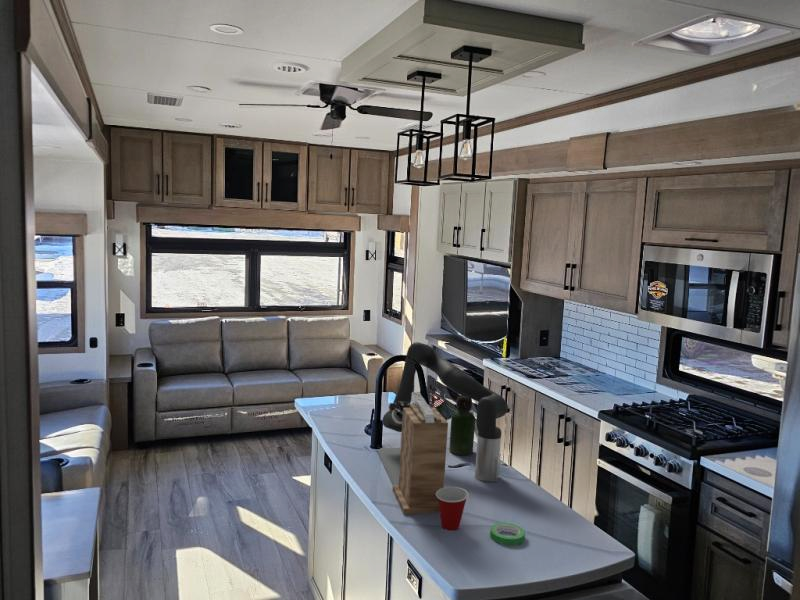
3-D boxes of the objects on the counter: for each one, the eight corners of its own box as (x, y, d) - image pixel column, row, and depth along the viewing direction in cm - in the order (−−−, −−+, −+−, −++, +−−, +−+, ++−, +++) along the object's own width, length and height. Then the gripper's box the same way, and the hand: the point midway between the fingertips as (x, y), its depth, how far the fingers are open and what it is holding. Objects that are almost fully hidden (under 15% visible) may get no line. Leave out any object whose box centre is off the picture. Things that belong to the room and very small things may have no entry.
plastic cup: (427, 521, 223) (430, 487, 221) (456, 517, 227) (458, 484, 226) (442, 536, 213) (444, 501, 211) (471, 532, 217) (474, 497, 216)
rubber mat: (375, 449, 289) (376, 448, 289) (407, 448, 292) (407, 447, 292) (394, 489, 248) (394, 487, 248) (430, 488, 251) (430, 486, 251)
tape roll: (501, 548, 208) (502, 540, 208) (483, 532, 218) (484, 525, 218) (531, 543, 212) (531, 535, 212) (512, 528, 222) (512, 520, 222)
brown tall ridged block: (392, 490, 247) (397, 403, 243) (433, 489, 250) (439, 403, 246) (403, 514, 227) (409, 420, 223) (448, 512, 231) (454, 420, 227)
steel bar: (411, 399, 253) (411, 392, 253) (419, 400, 254) (419, 392, 253) (425, 422, 226) (425, 414, 225) (433, 423, 226) (434, 414, 226)
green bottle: (466, 447, 298) (470, 393, 295) (476, 455, 289) (480, 399, 286) (445, 448, 295) (449, 393, 292) (454, 456, 285) (458, 400, 282)
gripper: (384, 404, 272) (392, 394, 257) (418, 403, 274) (427, 393, 260) (385, 422, 269) (393, 413, 254) (419, 421, 272) (429, 412, 257)
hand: (410, 403), depth 257 cm, fingers open, 8 cm apart
